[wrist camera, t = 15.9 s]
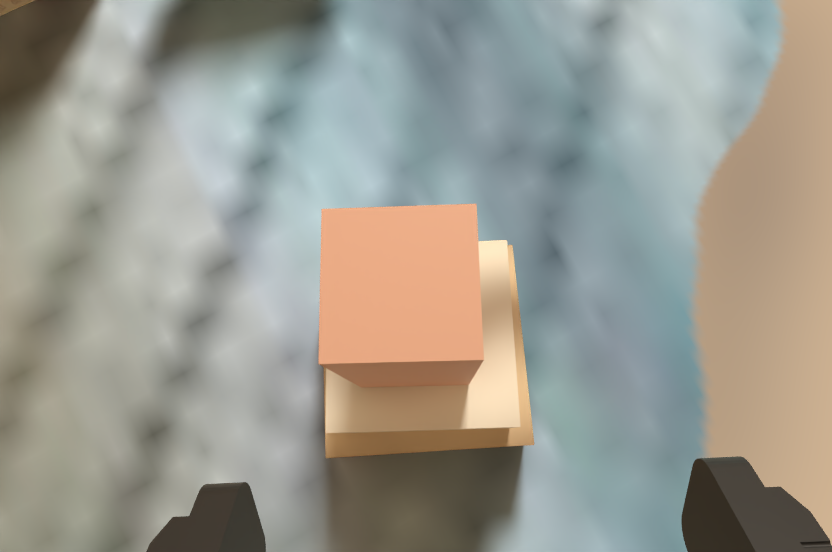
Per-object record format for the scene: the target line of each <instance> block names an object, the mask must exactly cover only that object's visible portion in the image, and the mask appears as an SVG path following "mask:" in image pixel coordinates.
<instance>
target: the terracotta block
mask: <svg viewBox="0 0 832 552" xmlns="http://www.w3.org/2000/svg"><path fill="white" fill-rule="evenodd" d="M483 361H484V349H483V329H482V309H481V288H480V268H479V247H478V227H477V207H476V204H457V205H427V206H397V207H368V208H338V209H322V221H321V269H320V317H319V365H321V366H323V367H325V368H327V369H329V370H330V371H332V372H334V373H336V374H338V375H339V376H341V377H343V378H345V379H347V380H349V381H350V382H352V383H354V384H356V385H358V386H359V387H400V386H443V385H469V384H470V382H471V381H472V379H473V377H474V376H475V374H476V372H477V371H478V369H479V367H480V366H481V364H482V362H483Z"/></svg>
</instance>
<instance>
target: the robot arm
mask: <svg viewBox="0 0 832 552" xmlns="http://www.w3.org/2000/svg"><path fill="white" fill-rule="evenodd" d="M682 532H683V537H684V541H685V545H686V548H687V551H688V552H832V546H831V544H830V540H829V538H828V537H827V535H826V534H825V532H824V531H823V529H822V528H821V527H820V525H819V524H818V522H817V521H816V519H815V518H814V517H813V515H812V513H811V512H810V511H809V510H808V509H806V508H805V507H804V506H803V505H802V504H800V503H799V502H798V501H797V500H796V499H794V498H793V497H792V496H791V495H790V494H788V493H787V492H786V491H785V490H784V489H782V488H781V487H764V485H763V483H762V482H761V480H760V479H759V477H758V476H757V474H756V472H755V471H754V469H753V468H752V466H751V465H750V463H749V462H748V461H747V460H746V459H745V458H743V457H721V458H700V459H696V460H695V461H694V463H693V467H692V471H691V476H690V480H689V485H688V489H687V494H686V498H685V503H684V508H683V512H682ZM146 552H266V544H265V536H264V533H263V529H262V526H261V522H260V519H259V516H258V512H257V509H256V505H255V502H254V499H253V495H252V492H251V489H250V486H249V484H248V483H246V482H242V483H221V484H205V485H204V486H203V487H202V488H201V489H200V491H199V493H198V496H197V498H196V501H195V503H194V506H193V508H192V511H191V513H190V516H186V517H173V518H172V519H171V520H170V521H169V522H168V523H167V524H166V526H165V527H164V528H163V529H162V530H161V531H160V533H159V534H158V535H157V536H156V537H155V538H154V539H153V541H152V542H151V543H150V545H149V547H148V549H147V551H146Z"/></svg>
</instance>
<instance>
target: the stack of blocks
mask: <svg viewBox="0 0 832 552" xmlns="http://www.w3.org/2000/svg"><path fill="white" fill-rule="evenodd" d="M32 1H34V0H0V16H1V15H4V14H6V13H8V12H10V11H12V10H15V9H17V8H19V7H21V6H24V5H26V4H28V3H30V2H32Z"/></svg>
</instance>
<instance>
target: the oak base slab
mask: <svg viewBox="0 0 832 552" xmlns="http://www.w3.org/2000/svg"><path fill="white" fill-rule="evenodd" d="M507 248H508V262H509V275H510V289H511V303H512V316H513V330H514V344H515V358H516V371H517V385H518V399H519V412H520V426H521V427H515V428H493V429H461V430H430V431H398V432H366V433H326V368H325V367H324V404H325V448H326V458H336V457H352V456H367V455H383V454H398V453H414V452H429V451H445V450H460V449H476V448H491V447H507V446H522V445H534V438H533V429H532V420H531V411H530V402H529V392H528V383H527V374H526V365H525V356H524V347H523V338H522V329H521V320H520V311H519V302H518V293H517V284H516V274H515V265H514V256H513V247H512V245H507Z"/></svg>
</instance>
